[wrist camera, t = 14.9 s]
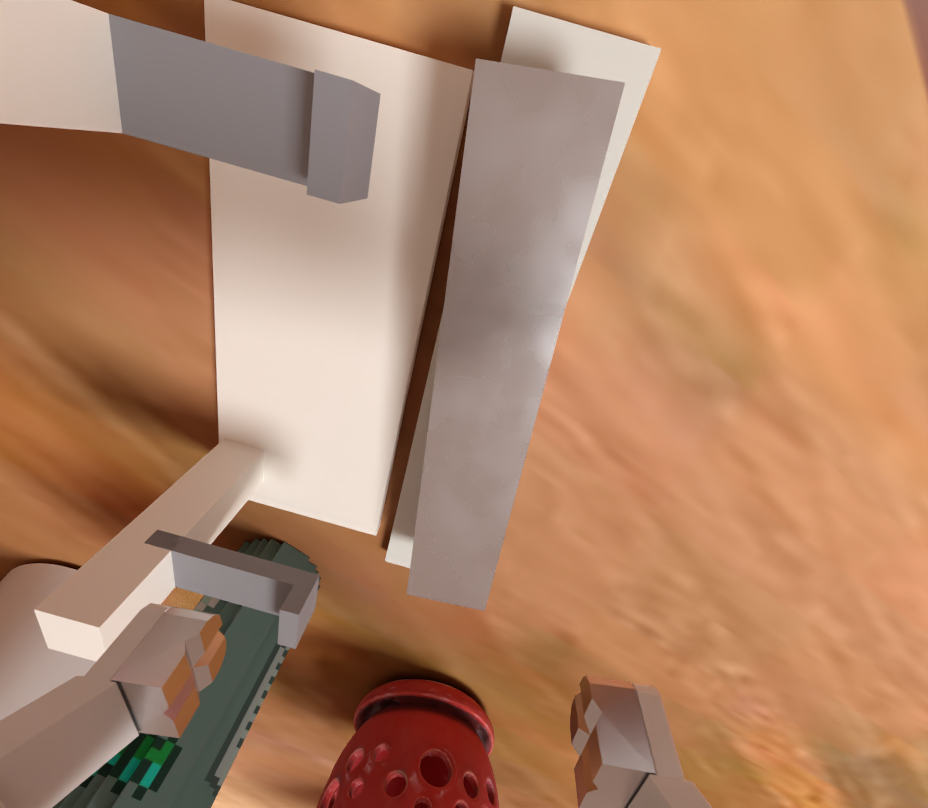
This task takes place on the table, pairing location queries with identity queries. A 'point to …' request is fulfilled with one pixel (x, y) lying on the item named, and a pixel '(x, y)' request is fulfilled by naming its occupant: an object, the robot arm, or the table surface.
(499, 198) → the rail
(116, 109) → the rack
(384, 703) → the plant pot
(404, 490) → the panel
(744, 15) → the table surface
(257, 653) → the can
